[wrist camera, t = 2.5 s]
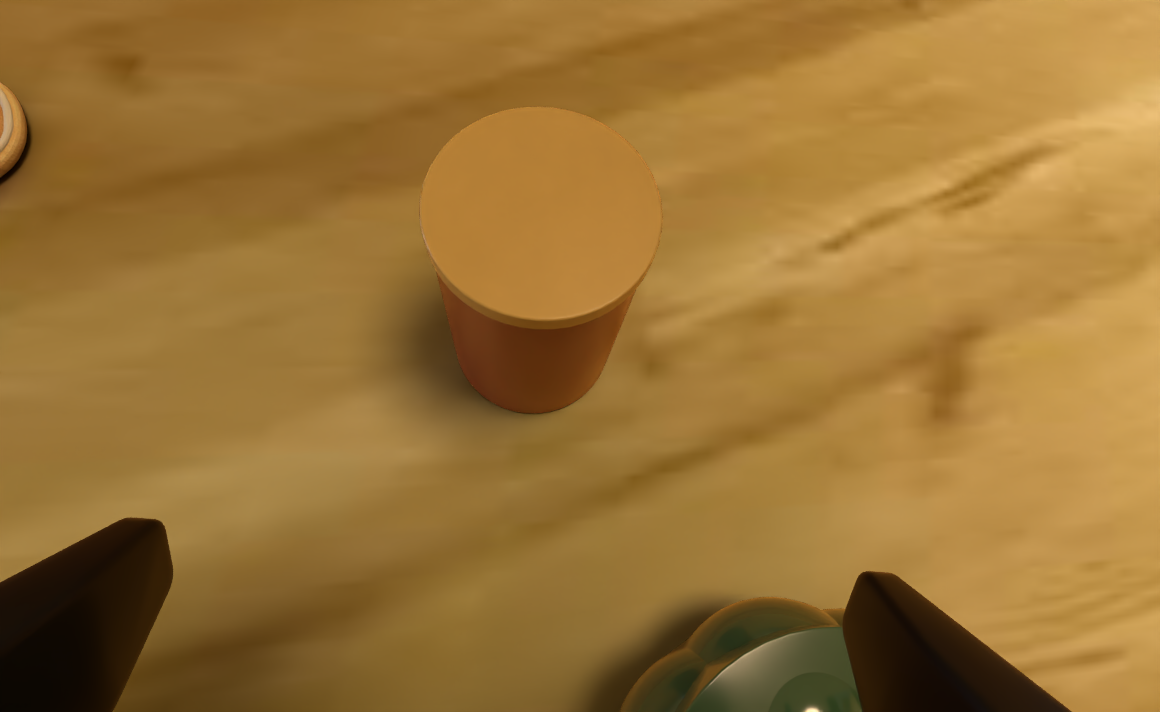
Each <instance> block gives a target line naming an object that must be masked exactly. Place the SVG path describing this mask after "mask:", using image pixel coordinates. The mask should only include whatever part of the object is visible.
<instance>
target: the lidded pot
mask: <svg viewBox="0 0 1160 712" xmlns="http://www.w3.org/2000/svg"><path fill="white" fill-rule="evenodd" d="M844 612H845V609H842V608H839V609H823V610H820V609H818V608H817V607H814V606H811V605H809V604H806V603H804V602H799V601H795V600H791V599H787V598H779V597H759V598H753V599H748V600H742V601H739V602H736V603H734V604H731V605H728V606H727V607H725V608H723V609H721V610H719V611H717V612H716V613H715V614H713V615H712V616H710V617H709V618H708V619H707V620H705V621H704V622H703V623H702V624H701V625H700V626H699V627H698V628H697V629H696V630H695V632H694V633H693V634H692V635H691V637H690V638H689V639H687V640H686V641H685V642H683V643H682V644H680V645H679V646H678V647H676V648H675V649H674V650H673V651H672V652H670V653H669V654H668V655H666V656H664V657H663V658H661V659H660V660H658V661H657V662H656V663H654V664H653V665H652V666H651V667H650V668H649V669H647V670H646V671H645V672H644V673H643V674H642V675H641V676H640V678H639V679H638V680H637V682H636V683H635V684H634V685H633V687H632V688H631V690H630V692H629V693H628V695H627V697H626V698H625V700H624V702H623V705H622V707H621V709H620V711H619V712H862V708H861V704H860V700H859V696H858V692H857V688H856V684H855V680H854V676H853V672H852V668H851V664H850V660H849V656H848V652H847V648H846V644H845V640H844V636H843V629H842V621H843V615H844Z"/></svg>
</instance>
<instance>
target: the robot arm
mask: <svg viewBox="0 0 1160 712" xmlns="http://www.w3.org/2000/svg"><path fill="white" fill-rule="evenodd" d="M172 579H173V565H172V560H171V555H170V550H169V545H168V539H167V534H166V530H165V526H164V525H163V523H162V522H161V521H159V520H156V519H145V518H124V519H122V520H119V521H117V522H115V523H113V524H111V525H109V526H108V527H106V528H104V529H102V530H100V531H98V532H96V533H94V534H92V535H90V536H88V537H86V538H85V539H83V540H81V541H79V542H77V543H75V544H73V545H71V546H69V547H67V548H65V549H63V550H62V551H60V552H58V553H56V554H54V555H52V556H50V557H48V558H46V559H44V560H42V561H40V562H39V563H37V564H35V565H33V566H31V567H29V568H27V569H25V570H23V571H21V572H19V573H17V574H16V575H14V576H12V577H10V578H8V579H6V580H4V581H2V582H0V712H112V711H113V709H114V708H115V706H116V704H117V702H118V700H119V698H120V696H121V694H122V692H123V690H124V688H125V685H126V683H127V681H128V679H129V677H130V675H131V672H132V670H133V668H134V666H135V664H136V662H137V659H138V657H139V655H140V653H141V651H142V648H143V646H144V644H145V642H146V640H147V638H148V635H149V633H150V631H151V629H152V627H153V625H154V622H155V620H156V618H157V616H158V614H159V611H160V609H161V607H162V605H163V603H164V601H165V598H166V596H167V594H168V592H169V589H170V587H171V583H172ZM842 629H843V636H844V640H845V644H846V648H847V652H848V656H849V660H850V664H851V668H852V672H853V676H854V680H855V684H856V688H857V692H858V696H859V700H860V704H861V708H862V712H1072V711H1070V710H1069V709H1068V708H1066V707H1065V706H1064V705H1063V704H1061V703H1060V702H1059V701H1057V700H1056V699H1055V698H1053V697H1052V696H1051V695H1050V694H1048V693H1047V692H1046V691H1044V690H1043V689H1042V688H1041V687H1039V686H1038V685H1037V684H1035V683H1034V682H1033V681H1032V680H1030V679H1029V678H1028V677H1026V676H1025V675H1024V674H1023V673H1021V672H1020V671H1019V670H1017V669H1016V668H1015V667H1014V666H1012V665H1011V664H1010V663H1008V662H1007V661H1006V660H1005V659H1003V658H1002V657H1001V656H999V655H998V654H997V653H996V652H994V651H993V650H992V649H990V648H989V647H988V646H987V645H985V644H984V643H983V642H981V641H980V640H979V639H978V638H976V637H975V636H974V635H972V634H971V633H970V632H969V631H967V630H966V629H965V628H963V627H962V626H961V625H960V624H958V623H957V622H956V621H954V620H953V619H952V618H951V617H949V616H948V615H947V614H945V613H944V612H943V611H942V610H940V609H939V608H938V607H936V606H935V605H934V604H933V603H931V602H930V601H929V600H927V599H926V598H925V597H924V596H922V595H921V594H920V593H918V592H917V591H916V590H915V589H913V588H912V587H911V586H909V585H908V584H907V583H906V582H904V581H903V580H902V579H900V578H899V577H898V576H896V575H894V574H892V573H885V572H871V571H866V572H863V573H861V574H860V575H859V576H858V578H857V580H856V583H855V586H854V588H853V591H852V593H851V596H850V599H849V601H848V604H847V607H846V609H845V612H844V615H843V621H842Z"/></svg>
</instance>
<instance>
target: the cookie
mask: <svg viewBox="0 0 1160 712" xmlns="http://www.w3.org/2000/svg"><path fill="white" fill-rule="evenodd" d="M26 138H27V124H26V118H25V115H24V112H23V109H22V107H21V105H20V103H19V101H18V99H17V98H16V96H15V95H14V94H13V92H12V91H11V90H10V89H9V88H7V87H6V86H5V85H3V84H2V83H1V82H0V178H1V177H2V176H3V175H4V174H6V173H7V172H8V171H9V170H10V169H12V167H13V166H14V165H15V164H16V162H17V161H18V160H19V158H20V156H21V154H22V152H23V150H24V147H25V144H26Z"/></svg>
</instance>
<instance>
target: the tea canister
mask: <svg viewBox="0 0 1160 712" xmlns="http://www.w3.org/2000/svg"><path fill="white" fill-rule="evenodd" d="M419 217H420V225H421V231H422V235H423V239H424V242H425V246H426V250H427V253H428V255H429V258H430V260H431V262H432V265H433V267H434V268H435V270H436V273H437V277H438V281H439V285H440V289H441V293H442V297H443V301H444V305H445V309H446V313H447V317H448V321H449V325H450V329H451V333H452V337H453V341H454V345H455V349H456V354H457V357H458V361H459V364H460V366H461V369H462V371H463V373H464V375H465V376H466V378H467V380H468V381H469V382H470V384H471V385H472V386H473V387H474V388H475V389H476V390H477V391H478V392H479V393H480V394H481V395H482V396H483V397H485V398H486V399H488V400H489V401H491V402H492V403H494V404H496V405H498V406H500V407H503V408H505V409H508V410H512V411H516V412H522V413H544V412H550V411H554V410H557V409H560V408H563V407H565V406H567V405H570V404H571V403H573V402H575V401H576V400H578V399H579V398H581V397H582V396H583V395H584V394H586V393H587V392H588V390H589V389H590V388H591V387H592V386H593V385H594V384H595V382H596V381H597V380H598V378H599V376H600V374H601V372H602V371H603V368H604V366H605V363H606V361H607V359H608V356H609V354H610V351H611V349H612V347H613V344H614V342H615V339H616V337H617V334H618V332H619V330H620V327H621V325H622V322H623V320H624V318H625V315H626V313H627V310H628V308H629V306H630V303H631V301H632V298H633V296H634V293H635V291H636V289H637V287H638V286H639V284H640V283H641V282H642V280H643V279H644V277H645V275H646V273H647V272H648V270H649V268H650V266H651V264H652V261H653V259H654V256H655V254H656V251H657V248H658V246H659V242H660V237H661V232H662V219H663V215H662V204H661V199H660V195H659V191H658V188H657V185H656V183H655V180H654V177H653V175H652V173H651V171H650V170H649V168H648V166H647V164H646V163H645V161H644V160H643V159H642V157H641V156H640V155H639V153H638V152H637V151H636V150H635V149H634V148H633V147H632V145H631V144H630V143H629V142H628V141H626V140H625V139H624V138H623V137H622V136H620V135H619V134H618V133H617V132H615V131H614V130H612V129H611V128H609V127H608V126H606V125H605V124H603V123H601V122H599V121H597V120H595V119H593V118H590V117H588V116H585V115H582V114H580V113H577V112H573V111H569V110H565V109H559V108H552V107H522V108H514V109H509V110H504V111H501V112H498V113H494V114H491V115H488V116H486V117H484V118H482V119H480V120H478V121H475V122H474V123H472V124H471V125H469V126H467V127H466V128H464V129H463V130H461V131H460V132H459V133H458V134H456V135H455V136H454V137H453V138H452V139H451V140H450V141H449V142H448V143H447V144H446V145H445V146H444V147H443V148H442V149H441V151H440V152H439V154H438V155H437V156H436V158H435V159H434V161H433V162H432V164H431V166H430V168H429V170H428V172H427V174H426V177H425V180H424V183H423V186H422V191H421V196H420V207H419Z"/></svg>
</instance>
